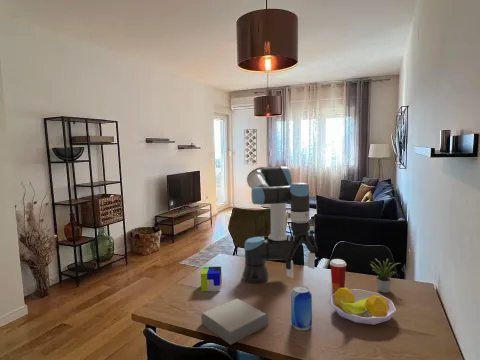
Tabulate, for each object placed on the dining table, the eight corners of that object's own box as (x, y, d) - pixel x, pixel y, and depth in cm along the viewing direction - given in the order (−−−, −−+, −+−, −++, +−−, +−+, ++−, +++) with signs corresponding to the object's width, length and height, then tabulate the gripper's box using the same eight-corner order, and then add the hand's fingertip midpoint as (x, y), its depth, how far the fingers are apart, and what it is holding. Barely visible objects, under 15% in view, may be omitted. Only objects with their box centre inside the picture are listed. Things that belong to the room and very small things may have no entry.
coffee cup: (344, 286, 166) (344, 258, 165) (348, 292, 158) (348, 264, 157) (328, 285, 167) (328, 258, 166) (331, 292, 159) (331, 264, 157)
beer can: (296, 333, 124) (296, 294, 123) (288, 322, 132) (287, 286, 131) (315, 329, 126) (315, 291, 125) (306, 319, 134) (305, 283, 133)
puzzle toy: (220, 291, 164) (219, 273, 163) (201, 292, 164) (200, 273, 163) (221, 283, 174) (221, 266, 173) (203, 284, 174) (203, 266, 173)
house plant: (394, 284, 166) (395, 254, 165) (405, 296, 153) (406, 263, 151) (367, 283, 168) (367, 254, 166) (375, 295, 154) (376, 263, 153)
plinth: (237, 308, 146) (237, 297, 146) (267, 325, 131) (267, 313, 130) (201, 323, 133) (201, 312, 133) (230, 345, 118) (230, 332, 117)
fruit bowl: (362, 296, 154) (362, 274, 153) (410, 323, 128) (410, 297, 128) (314, 308, 144) (314, 284, 143) (356, 340, 118) (356, 311, 118)
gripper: (286, 227, 115) (287, 283, 116) (326, 217, 131) (326, 266, 132) (271, 224, 120) (273, 277, 122) (311, 215, 136) (312, 262, 138)
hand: (301, 272), depth 127 cm, fingers open, 13 cm apart
